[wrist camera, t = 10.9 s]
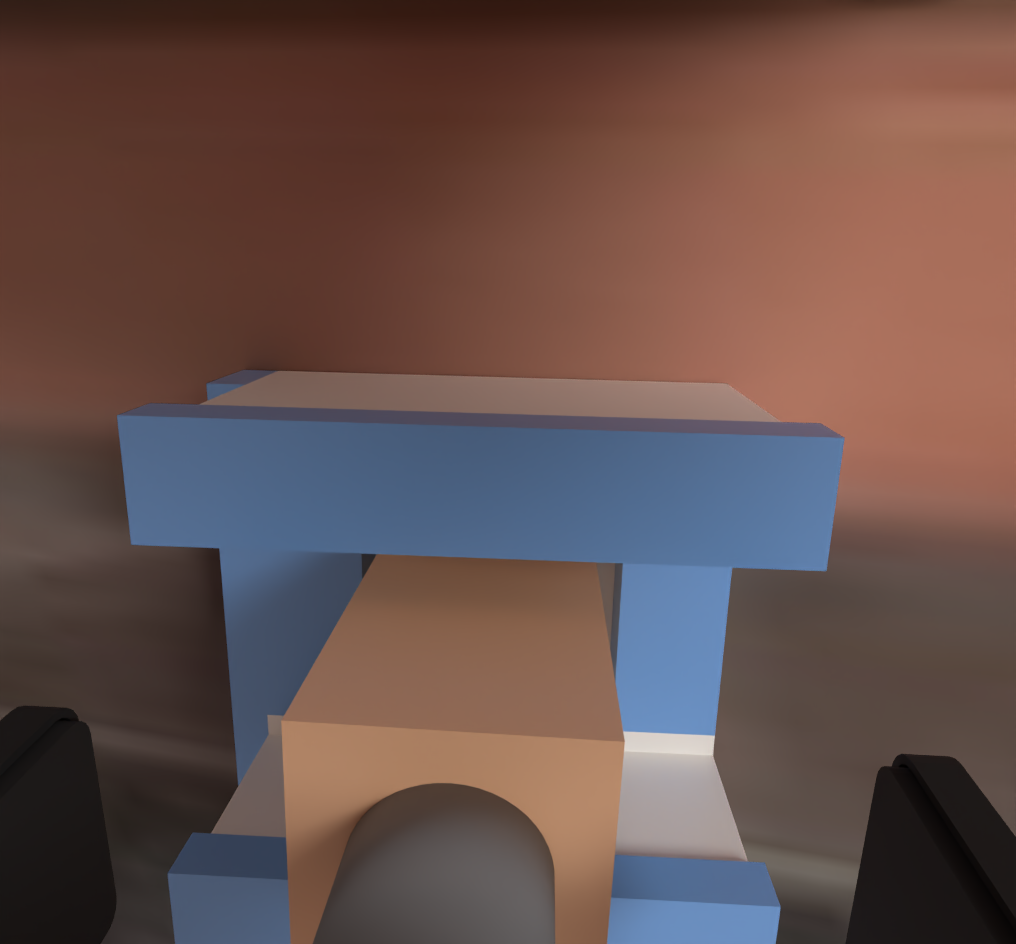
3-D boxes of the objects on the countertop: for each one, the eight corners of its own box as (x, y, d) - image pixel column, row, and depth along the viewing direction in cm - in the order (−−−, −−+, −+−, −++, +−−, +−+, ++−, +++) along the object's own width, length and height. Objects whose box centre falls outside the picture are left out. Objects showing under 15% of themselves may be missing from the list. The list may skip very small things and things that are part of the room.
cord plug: (410, 496, 18) (228, 813, 8) (587, 504, 18) (640, 840, 8) (409, 656, 19) (247, 1119, 9) (576, 665, 19) (610, 1150, 9)
